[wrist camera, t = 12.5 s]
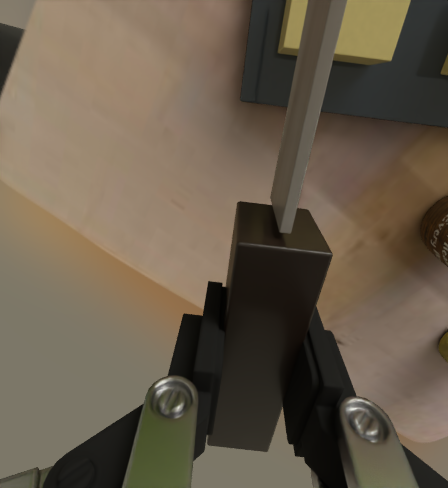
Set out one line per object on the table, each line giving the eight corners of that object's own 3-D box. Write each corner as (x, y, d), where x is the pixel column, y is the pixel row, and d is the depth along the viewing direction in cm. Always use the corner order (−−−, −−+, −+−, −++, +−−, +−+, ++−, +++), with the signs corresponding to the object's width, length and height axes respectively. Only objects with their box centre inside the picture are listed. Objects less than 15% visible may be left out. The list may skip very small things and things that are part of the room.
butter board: (239, 100, 21) (239, 101, 20) (264, -98, 16) (265, -109, 16) (461, 129, 21) (470, 131, 20) (549, -61, 16) (566, -70, 16)
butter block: (277, 53, 19) (282, 47, 16) (291, -29, 17) (300, -51, 14) (370, 65, 19) (391, 61, 16) (394, -16, 17) (422, -35, 14)
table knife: (458, -361, 5) (712, -879, 2) (263, 384, 14) (268, 453, 11) (316, -380, 5) (406, -921, 2) (213, 378, 14) (206, 446, 11)
